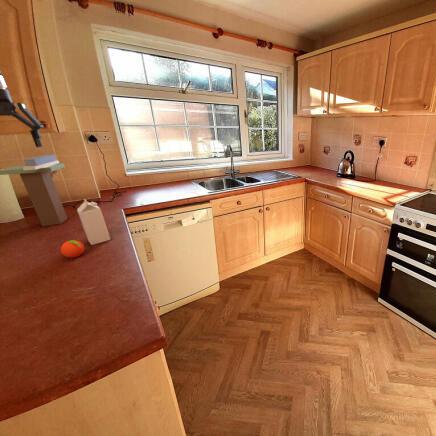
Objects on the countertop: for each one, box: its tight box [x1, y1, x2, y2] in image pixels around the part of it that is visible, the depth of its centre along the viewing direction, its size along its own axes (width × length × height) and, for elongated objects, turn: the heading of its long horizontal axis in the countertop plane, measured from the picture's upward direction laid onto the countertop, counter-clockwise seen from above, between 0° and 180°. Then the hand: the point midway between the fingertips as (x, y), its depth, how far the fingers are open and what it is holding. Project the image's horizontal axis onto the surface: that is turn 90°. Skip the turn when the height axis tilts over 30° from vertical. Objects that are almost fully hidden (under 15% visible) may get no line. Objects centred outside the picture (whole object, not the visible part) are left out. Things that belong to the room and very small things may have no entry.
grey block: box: [22, 154, 60, 170], centre depth 120 cm, size 22×4×4 cm, turn 20°
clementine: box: [60, 239, 85, 259], centre depth 96 cm, size 8×7×7 cm
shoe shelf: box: [0, 162, 68, 227], centre depth 126 cm, size 15×20×30 cm
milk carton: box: [76, 198, 111, 246], centre depth 107 cm, size 7×7×19 cm
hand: (18, 147), depth 98 cm, fingers open, 13 cm apart
